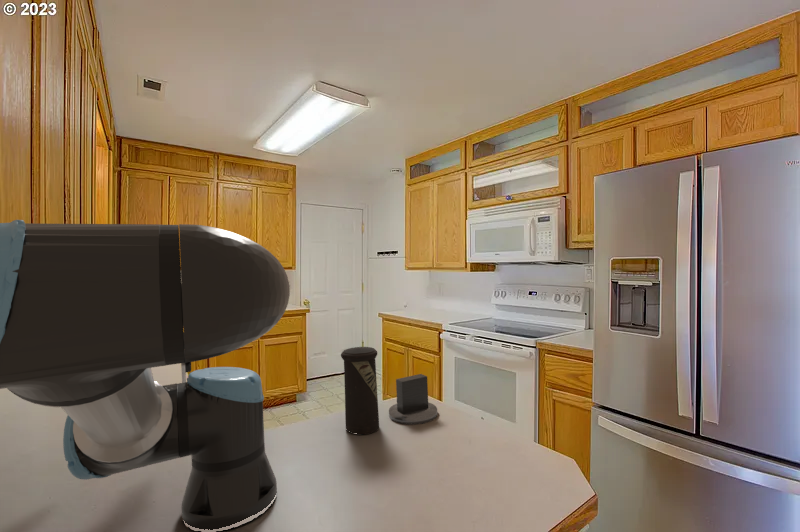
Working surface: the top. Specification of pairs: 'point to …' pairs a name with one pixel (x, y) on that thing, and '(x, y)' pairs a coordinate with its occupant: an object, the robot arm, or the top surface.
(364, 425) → the container
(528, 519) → the top surface
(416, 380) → the lid
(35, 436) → the top surface
